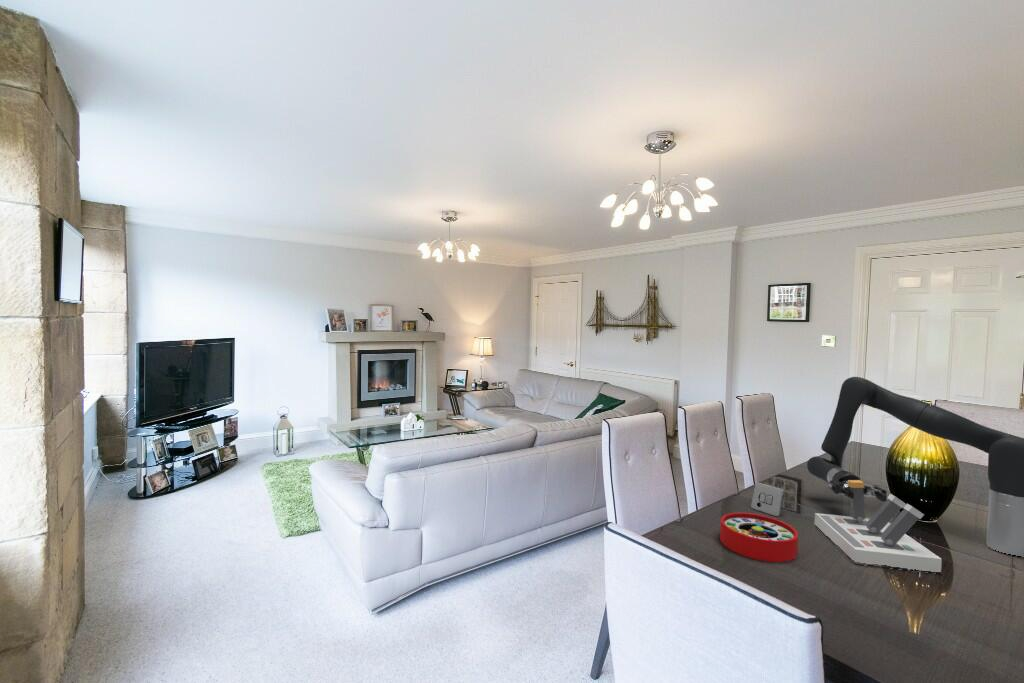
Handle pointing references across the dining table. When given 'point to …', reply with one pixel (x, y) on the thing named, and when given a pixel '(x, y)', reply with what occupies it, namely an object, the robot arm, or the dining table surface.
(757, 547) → the toy clock
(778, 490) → the electrical switch
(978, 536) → the dining table surface
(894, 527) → the lever
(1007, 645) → the dining table surface
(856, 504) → the lever
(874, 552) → the panel
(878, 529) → the breaker mid
